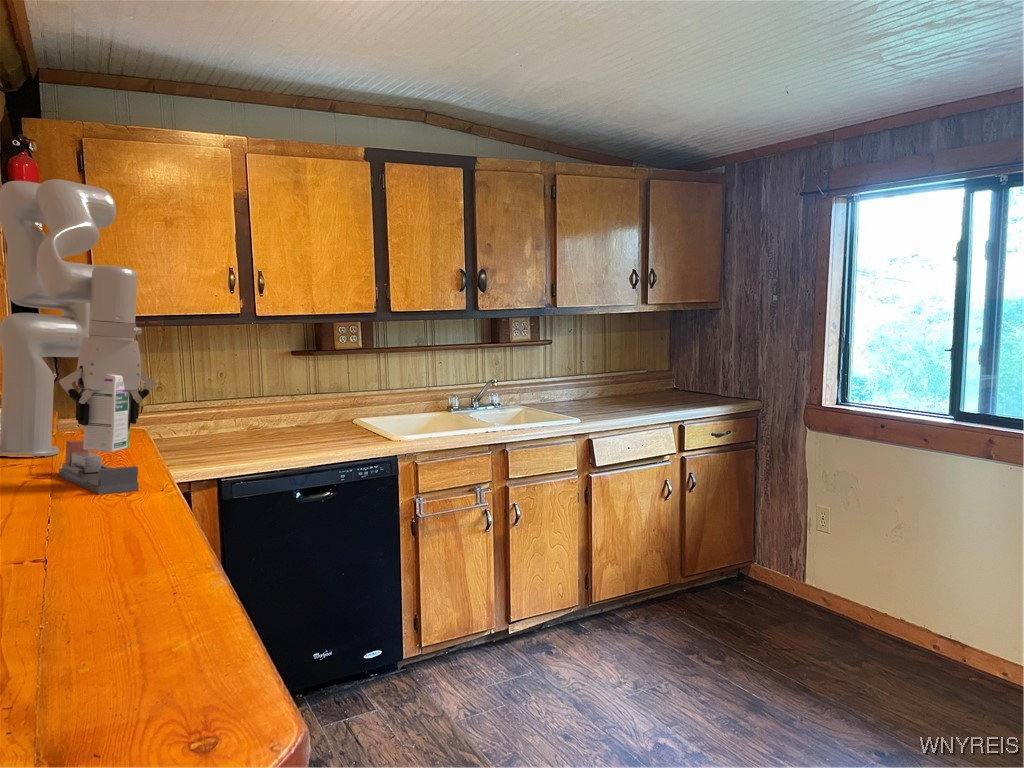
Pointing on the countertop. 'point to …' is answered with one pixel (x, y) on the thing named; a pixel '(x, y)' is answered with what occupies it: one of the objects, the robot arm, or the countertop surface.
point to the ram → (82, 457)
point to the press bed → (102, 478)
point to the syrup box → (108, 417)
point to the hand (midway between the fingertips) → (107, 423)
